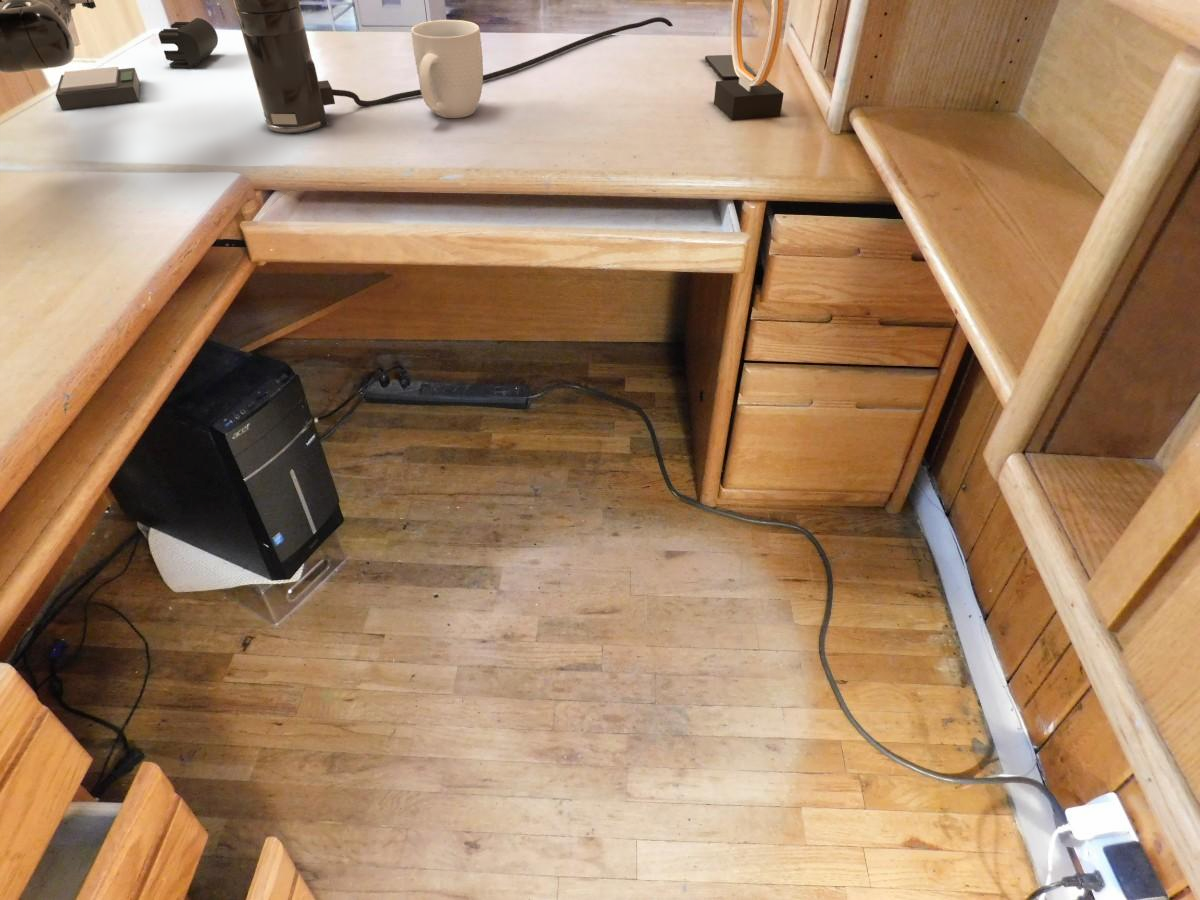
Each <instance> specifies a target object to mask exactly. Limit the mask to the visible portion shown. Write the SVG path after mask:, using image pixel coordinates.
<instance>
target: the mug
mask: <svg viewBox="0 0 1200 900" xmlns="http://www.w3.org/2000/svg"><path fill="white" fill-rule="evenodd" d="M410 29H411V31H410V32H411V40H412V47H413V55H414V61H415V66H416V72H417V76H418V83H419V84H418V85H419V90H421V94H422V95H421V97H422V100H423V102H424V103H425V105H426V106H427V107H428V108H429V109H431V110H432V111H433V112H434V113H435V114H436V115H437V116H439V117H441V118H445V119H462V118H467V117H469V116H472V115H473V114H474V113H475V112H476V109H477V107H478V105H479V103H480V99H481V96H482V92H483V91H482V90H483V85H484V81H483V75H484V64H483V63H484V59H483V58H484V57H483V47H482V40H481V39H482V38H481V29H480V26H479V25H478V24H476V23H474V22H473V21H467V20H463V19H462V20H460V19H437V20H430V21H429V20H428V21H424V22H420V23H418V24H415V25H414V26H412V27H411V28H410Z"/></svg>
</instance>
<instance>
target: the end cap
mask: <svg viewBox="0 0 1200 900" xmlns="http://www.w3.org/2000/svg"><path fill="white" fill-rule="evenodd" d="M158 38H159V41H160V44H161V45H175V46H176V47H177V50H163V53H164V56H165V59H166V60H167V61H170V63H169V68H171V69H191V68H192V69H193V68H194V67H196V66H197V65H198V64H200V63H201V62H202V61H203V60H205V59H206V58H207V57H209V56H210V55H211V54H212V53H213V52H214V50H215V49H216V48H217V46H218V43H219V42H218V41H219V37H218V34H217V31H216V28H214V26H213V25H212V24H211V23H210V22H209V21H207V20H205V19H203V18H201V17H195V18H194V19H193V20H191V21H175V22H174V23H172V24H171V25H170V28H163V30H160V31H159V32H158Z"/></svg>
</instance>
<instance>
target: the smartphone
mask: <svg viewBox="0 0 1200 900" xmlns="http://www.w3.org/2000/svg"><path fill="white" fill-rule="evenodd" d="M704 60H705V61H706V63H708V65H709V66H710V67H711V68H712V70H713V71H714V72H715V73H716V74H717V76H718V77H719V78H720V80H721V81H726V80H739V77H738V76H737V74H736V73H735V70H734V66H733V59H732V54H717V55H716V54H715V55H705V56H704ZM743 62H744V67H745V69H746V70H747V71H748V72H749V73H750V74H752V75H753V76H754V77H756V75H757V73H756V72H754V70H753V69H752V68H751V67H750V66H749V65H748V64H747V63H746V62H745V61H744V60H743Z"/></svg>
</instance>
